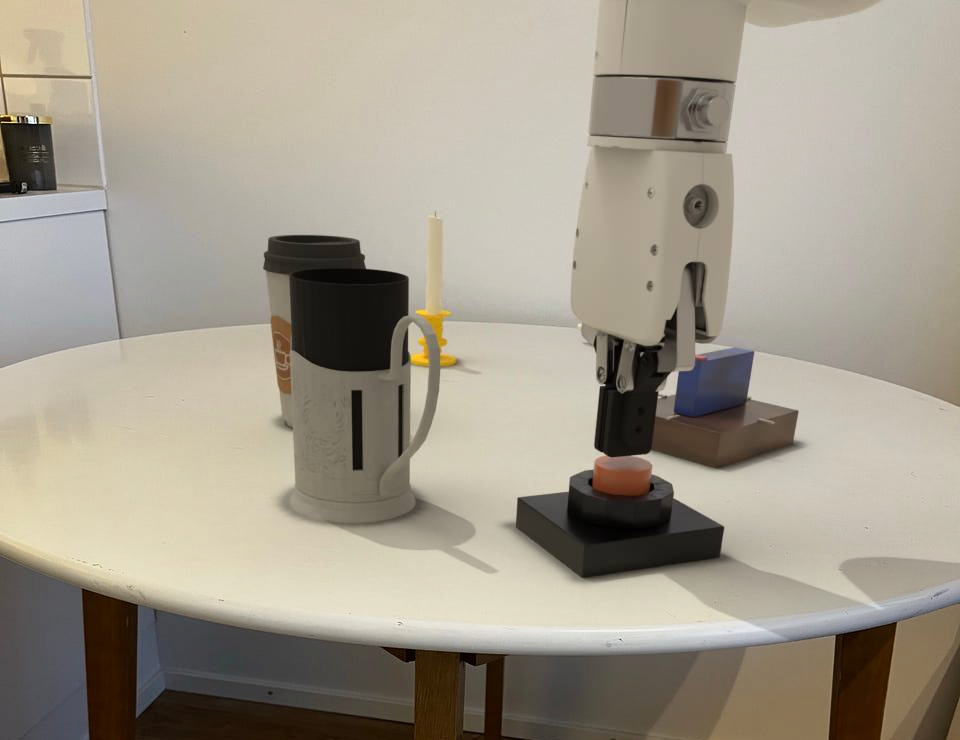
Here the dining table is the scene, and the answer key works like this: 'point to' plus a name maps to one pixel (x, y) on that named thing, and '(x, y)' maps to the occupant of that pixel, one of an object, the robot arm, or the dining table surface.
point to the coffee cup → (278, 264)
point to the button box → (617, 528)
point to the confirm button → (622, 475)
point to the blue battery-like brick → (714, 382)
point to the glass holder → (354, 393)
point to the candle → (434, 294)
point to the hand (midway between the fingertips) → (622, 451)
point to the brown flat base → (722, 432)
